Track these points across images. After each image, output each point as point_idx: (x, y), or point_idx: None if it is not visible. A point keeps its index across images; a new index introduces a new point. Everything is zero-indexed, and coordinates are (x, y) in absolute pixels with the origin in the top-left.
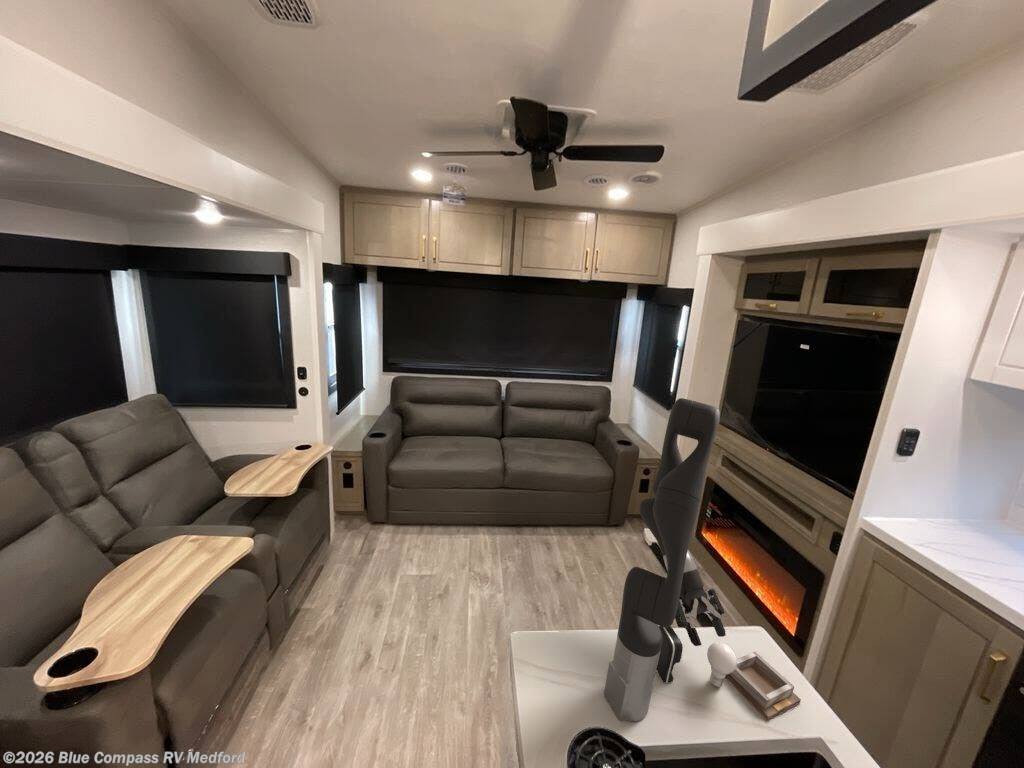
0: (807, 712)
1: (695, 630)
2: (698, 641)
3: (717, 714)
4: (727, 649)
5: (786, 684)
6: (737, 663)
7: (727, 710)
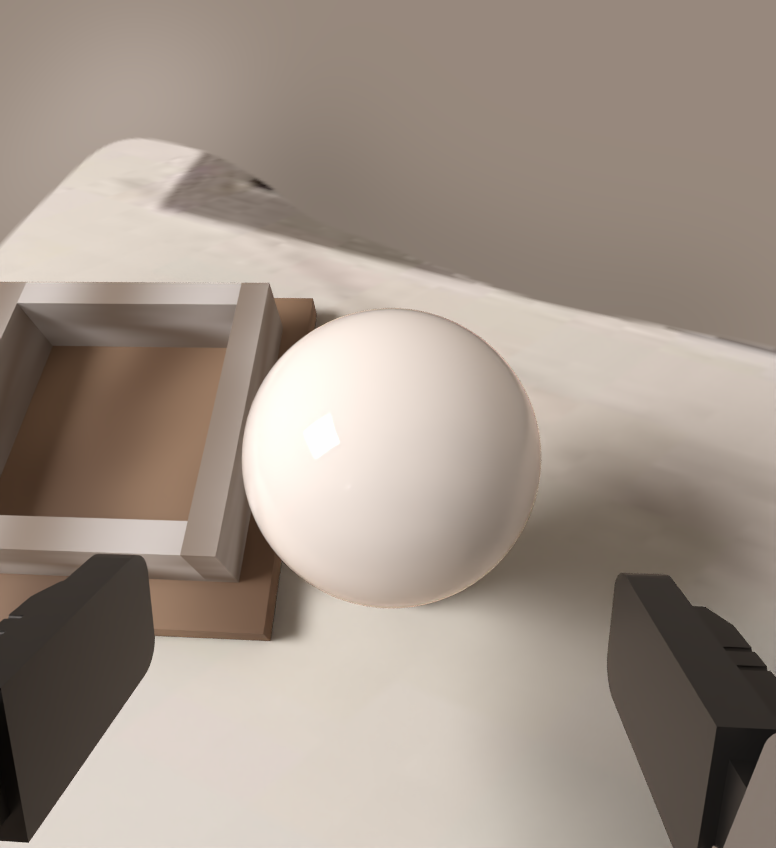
0: (69, 276)
1: (721, 694)
2: (678, 593)
3: (573, 424)
4: (373, 345)
5: (20, 312)
6: (152, 521)
7: None
